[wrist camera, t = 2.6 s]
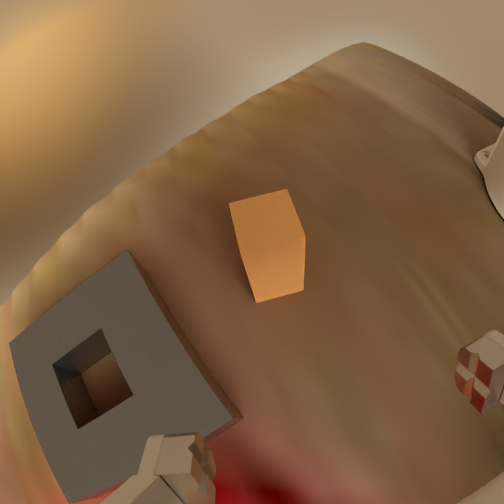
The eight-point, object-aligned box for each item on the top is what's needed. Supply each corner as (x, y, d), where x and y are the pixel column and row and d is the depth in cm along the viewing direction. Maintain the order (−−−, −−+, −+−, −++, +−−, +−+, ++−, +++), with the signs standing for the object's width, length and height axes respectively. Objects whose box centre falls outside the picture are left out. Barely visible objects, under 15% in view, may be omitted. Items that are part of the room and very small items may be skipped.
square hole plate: (146, 271, 28) (127, 249, 24) (243, 418, 20) (233, 418, 17) (35, 354, 24) (9, 343, 21) (96, 497, 16) (69, 503, 13)
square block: (290, 250, 27) (287, 188, 20) (303, 290, 25) (305, 236, 18) (246, 261, 27) (228, 203, 20) (256, 302, 25) (240, 253, 18)
